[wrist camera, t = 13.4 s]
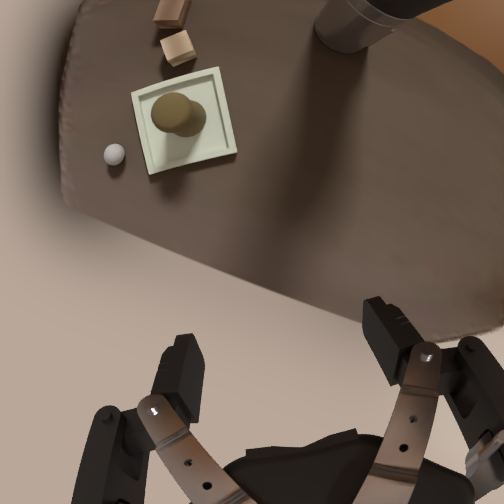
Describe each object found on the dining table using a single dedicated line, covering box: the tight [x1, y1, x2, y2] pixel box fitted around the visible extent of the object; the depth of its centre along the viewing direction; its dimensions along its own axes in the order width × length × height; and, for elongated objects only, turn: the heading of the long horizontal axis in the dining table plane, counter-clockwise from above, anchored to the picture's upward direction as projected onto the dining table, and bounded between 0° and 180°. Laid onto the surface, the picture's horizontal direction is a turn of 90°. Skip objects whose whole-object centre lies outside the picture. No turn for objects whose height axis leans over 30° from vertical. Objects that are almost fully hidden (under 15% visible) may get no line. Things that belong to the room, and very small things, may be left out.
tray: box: [131, 67, 237, 175], centre depth 37 cm, size 14×14×2 cm
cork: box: [151, 92, 207, 137], centre depth 32 cm, size 6×6×11 cm
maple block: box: [160, 30, 197, 67], centre depth 31 cm, size 4×4×4 cm
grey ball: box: [104, 144, 125, 165], centre depth 37 cm, size 4×4×4 cm
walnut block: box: [153, 0, 192, 29], centre depth 28 cm, size 4×6×4 cm, turn 169°
